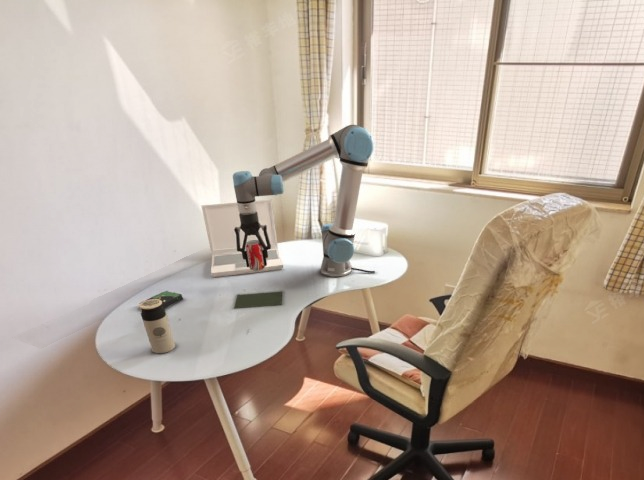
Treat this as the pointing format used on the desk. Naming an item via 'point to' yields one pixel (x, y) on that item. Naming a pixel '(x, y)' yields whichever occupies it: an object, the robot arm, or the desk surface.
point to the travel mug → (157, 326)
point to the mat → (258, 300)
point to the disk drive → (167, 298)
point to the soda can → (255, 255)
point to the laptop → (224, 238)
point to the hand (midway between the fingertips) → (257, 265)
